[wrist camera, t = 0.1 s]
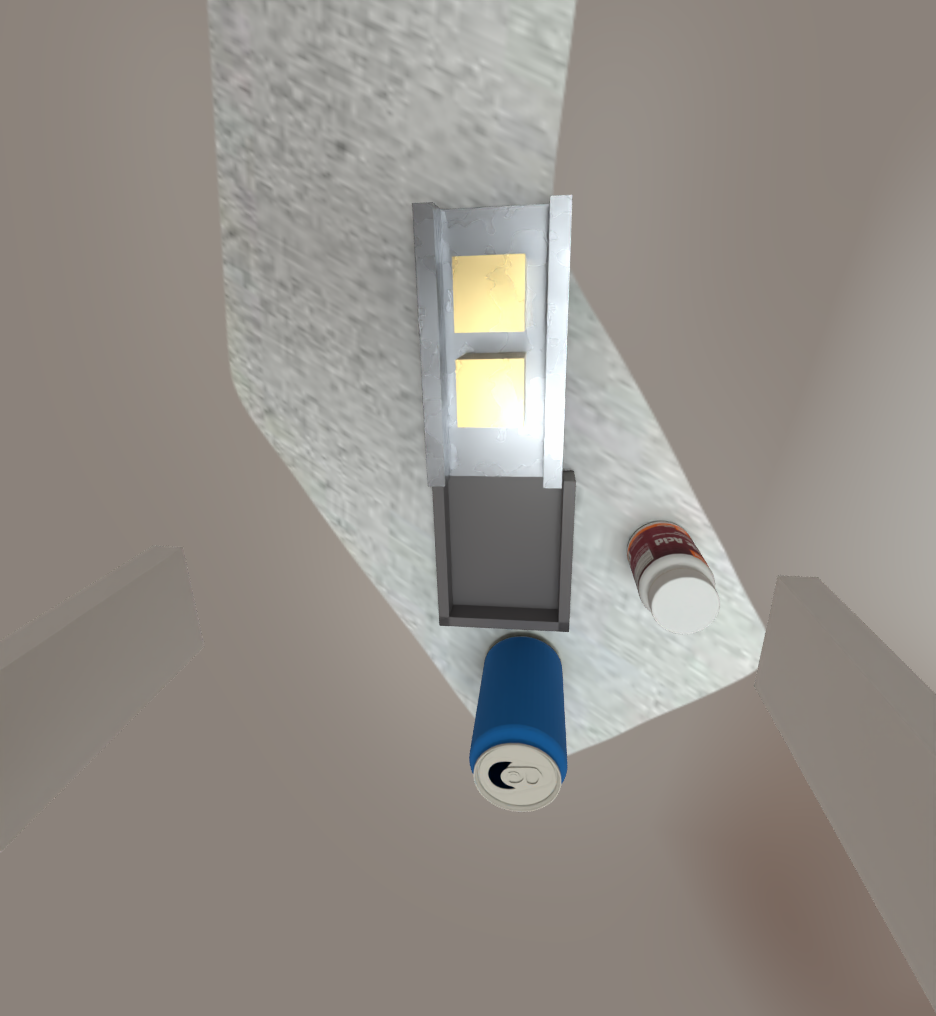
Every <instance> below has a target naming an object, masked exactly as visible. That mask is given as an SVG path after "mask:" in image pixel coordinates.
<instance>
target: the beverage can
mask: <svg viewBox="0 0 936 1016" xmlns="http://www.w3.org/2000/svg"><path fill="white" fill-rule="evenodd" d="M469 759H470V766H471V770H472V773H473V777H474V782H475V785H476V788H477V789H478V791H479V792H480V794H481V795H482V796H483V797H484V798H485V799H486V800H488V801H489V802H490V803H492V804H494V805H496V806H498V807H500V808H503V809H506V810H509V811H515V812H528V811H534V810H538V809H541V808H543V807H545V806H547V805H548V804H549V803H551V802H552V801H553V800H554V799H555V798H556V797H557V795H558V794H559V791H560V789H561V784H562V782H563V781H564V779H565V776H566V773H567V748H566V730H565V712H564V693H563V675H562V665H561V661H560V659H559V657H558V655H557V654H556V652H555V651H554V650H553V649H552V648H551V647H550V646H549V645H547V644H546V643H544V642H542V641H540V640H538V639H535V638H531V637H525V636H516V637H510V638H507V639H504V640H502V641H500V642H498V643H497V644H496V645H494V646H493V647H492V648H491V650H490V651H489V652H488V654H487V656H486V658H485V662H484V668H483V675H482V681H481V687H480V693H479V699H478V706H477V712H476V718H475V724H474V730H473V736H472V743H471V749H470V757H469Z"/></svg>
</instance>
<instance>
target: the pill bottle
mask: <svg viewBox="0 0 936 1016" xmlns="http://www.w3.org/2000/svg"><path fill="white" fill-rule="evenodd" d="M627 557H628V561H629V564H630V567H631V570H632V573H633V576H634V580H635V583H636V586H637V589H638V593H639V596H640V599H641V601H642V603H643V604H644V606H645V607H646V608H647V609H648V610H649V611H650V612H651V613H652V615H653V617H654V619H655V621H656V622H657V623H658V624H659V625H660V626H661V627H662V628H664V629H665V630H667V631H670V632H672V633H676V634H692V633H696V632H699V631H701V630H703V629H705V628H706V627H708V626H709V625H710V624H711V623H712V622H713V621H714V620H715V618H716V617H717V615H718V613H719V609H720V599H719V596H718V593H717V591H716V589H715V580H714V576H713V573H712V571H711V570H710V568H709V566H708V565H707V563H706V561H705V560H704V558H703V557H702V555H701V553H700V552H699V550H698V549H697V547H696V546H695V544H694V542H693V541H692V539H691V538H690V536H689V535H688V533H687V532H686V531H685V530H684V529H683V528H681V527H680V526H678V525H676V524H673V523H670V522H665V521H658V522H653V523H649V524H647V525H644V526H643V527H641V528H640V529H639V530H637V531H636V532H635V533H634V535H633V536H632V537H631V539H630V541H629V543H628V547H627Z"/></svg>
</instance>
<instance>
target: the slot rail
mask: <svg viewBox="0 0 936 1016" xmlns="http://www.w3.org/2000/svg"><path fill="white" fill-rule="evenodd" d="M412 207H413V226H414V244H415V262H416V280H417V299H418V317H419V335H420V353H421V371H422V390H423V408H424V426H425V444H426V462H427V481H428V486H442V487H445V486H446V484H447V482H448V480H449V478H450V477H451V476H513V477H543V488H562V466H563V438H564V411H565V384H566V357H567V329H568V302H569V275H570V247H571V220H572V195H560V196H550V204H537V205H518V206H499V207H479V208H460V209H440V208H438V207H437V206H436V205H435V204H434V203H433V202H429V203H412ZM502 254H525V255H526V258H527V321H526V330H525V331H517V332H471V333H455V332H454V302H453V272H452V256H477V255H502ZM514 352H526V410H525V420H524V426H523V427H458V423H457V393H456V363H455V360H456V359H457V358H459V357H460V356H462V355H464V354H465V353H514Z"/></svg>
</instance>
